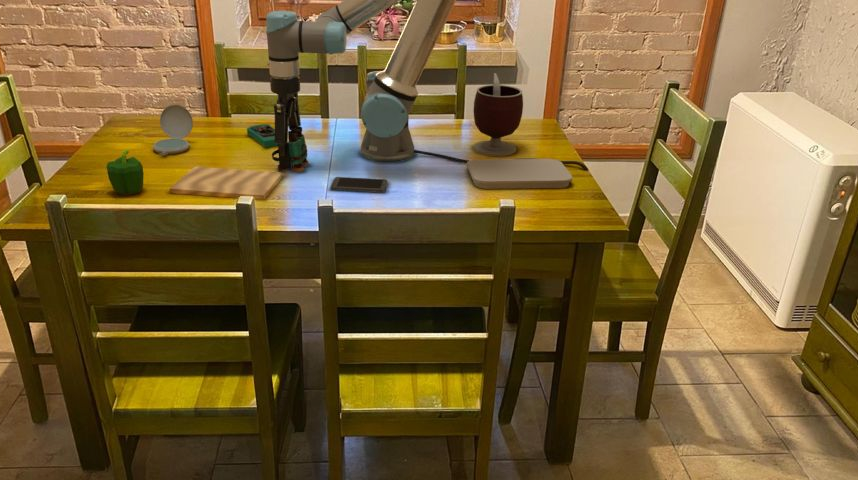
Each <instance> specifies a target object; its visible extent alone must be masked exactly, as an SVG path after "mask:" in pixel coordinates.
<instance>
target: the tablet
mask: <svg viewBox="0 0 858 480" xmlns="http://www.w3.org/2000/svg"><path fill="white" fill-rule="evenodd" d="M469 160H470V161H468V162H467V163H466V167H467V171H468V173H469V175H470V178H471V180H472V182H473V185H474V186H475V187H476V188H478V189H483V190H485V189H486V190H487V189H488V190H489V189H490V190H491V189H492V190H493V189H499V190H500V189H563V188H568V187H569V184H570V182H572V181H573V175H572V174H571V172H570V170H568V168H567V167H566V166H565V164H563V163H562V162H560V161H561V160H558V159H554V158H537V159H517V158H489V159H488V158H487V159H486V158H485V159H483V158H481V159H480V158H479V159H469Z"/></svg>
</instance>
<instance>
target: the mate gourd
mask: <svg viewBox="0 0 858 480" xmlns="http://www.w3.org/2000/svg"><path fill="white" fill-rule="evenodd" d="M523 110H524V97H523V90H522V89H521V88H518V87H515V86H511V85H503V84H501V83H500V79H499V76H498V74H497V72H494V73H493V83H492V84H486V85H482V86H479V87H477V88H476V93H475V95H474V100H473V120H474V125H475V126H476V128H477V130H478V131H479V133H481V134H483V135H485V136H488V137H490V139H489V140H481V141H477V142H476V143H474V145H473V150H474V151H475V152H476V153H479V154H481V155H484V156H488V157H489V156H490V157H505V156H506V157H507V156H511V155H513V154H515V153H516V152H517V147H516V145H515V144H513V143H511V142H508V141H504V140H502V139H501V138H504V137H507V136H510V135H512V134H514V133H515V131H516V130H517V129H518V128H519V127H520V123H521V121H522V117H523Z"/></svg>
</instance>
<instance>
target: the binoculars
mask: <svg viewBox="0 0 858 480" xmlns="http://www.w3.org/2000/svg"><path fill="white" fill-rule="evenodd" d="M294 131H295V132H296V134H289V137H290V141H289V140H288V143H289V156H290V167H289V168H288V167H279V164H277V170H278V171H283V170H289V169H290V170H291V169H292V171H294V172H295V173H302V172H304V167H309V165H310V162H309V160H308V159H307V158H308V146H307V144H306V140H305V139H306V138H305V135H304V134H303V127H302V126H299V127H296V128H295V129H294ZM289 137H288V138H289ZM276 155H278V149H276V150H274V151H273V152H272V153H271V160H273V161H275V162H279V157H277V156H276Z"/></svg>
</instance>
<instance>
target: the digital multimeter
mask: <svg viewBox="0 0 858 480" xmlns="http://www.w3.org/2000/svg"><path fill="white" fill-rule="evenodd" d="M246 134H247V135H248V136H249V137H250V138H251V139H253V140H254V141H256V142H257V143H259V144H260V145H261V146H262V147H264V148H265V149H267V148H268V149H269V148H276V147H277V148H278V144H276V143H274V141H275V127H273V126H272V125H270V124H268V123H263V124H255V125H251V126H248V127H247V128H246ZM288 142H289V139H287V143H288Z"/></svg>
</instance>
